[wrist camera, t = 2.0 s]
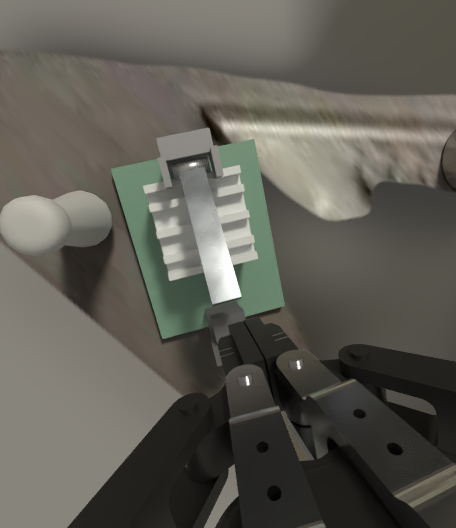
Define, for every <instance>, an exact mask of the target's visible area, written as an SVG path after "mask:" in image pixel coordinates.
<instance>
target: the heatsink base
mask: <svg viewBox="0 0 456 528" xmlns="http://www.w3.org/2000/svg"><path fill="white" fill-rule="evenodd" d="M156 139H157V143H158V147H159V151H160V155H161V157H159V158H157V159H156V160H151V161H146V162H141V163H137V164H132V165H127V166H122V167H117V168H113V169H111V172H112V175H113V178H114V182H115V185H116V188H117V191H118V195H119V198H120V201H121V205H122V208H123V211H124V214H125V218H126V221H127V224H128V227H129V231H130V234H131V237H132V241H133V244H134V247H135V250H136V254H137V257H138V260H139V264H140V267H141V270H142V273H143V277H144V280H145V283H146V287H147V290H148V293H149V296H150V300H151V303H152V306H153V310H154V313H155V316H156V319H157V323H158V326H159V329H160V332H161V336H162V339H165V338H169V337H173V336H176V335H180V334H184V333H187V332H191V331H195V330H198V329H202V328H206V327H208V322H207V316H206V311H205V309H207V308H210V307H214V306H213V305H212V302H211V298H210V294H209V290H208V286H207V282H206V278H205V274H204V270H203V266H202V262H201V258H200V254H199V250H198V246H197V242H196V238H195V234H194V230H193V226H192V223H191V219H190V215H189V211H188V207H187V203H186V199H185V195H184V191H183V187H182V183H181V180H176V181H175V179H174V175H173V172H172V168H171V164H173V163H178V162H182V161H187V160H192V159H197V158H201V157H206V156H207V157H208V159H209V163H210V168H211V173H208V174H207V178H208V181H209V185H210V188H211V192H212V195H213V199H214V202H215V206H216V209H217V213H218V216H219V220H220V223H221V227H222V230H223V234H224V237H225V241H226V244H227V248H228V251H229V255H230V258H231V262H232V265H233V269H234V272H235V276H236V279H237V283H238V286H239V289H240V293H241V296H242V297H241V299H239V300H235V301H237V303H238V304H239V306H240V307H242V308H243V310H244V313H245V317H246V316H250V315H254V314H257V313H261V312H265V311H268V310H272V309H276V308H279V307H283V306H285V304H284V299H283V293H282V288H281V283H280V277H279V272H278V266H277V261H276V256H275V250H274V245H273V239H272V233H271V228H270V223H269V217H268V212H267V206H266V201H265V196H264V190H263V185H262V179H261V174H260V168H259V163H258V157H257V152H256V147H255V141H254V139H252V140H247V141H242V142H237V143H233V144H228V145H223V146H217V145H216V146H213V142H212V138H211V133H210V128H205V129H200V130H195V131H190V132H185V133H180V134H175V135H170V136H165V137H160V138H156ZM232 302H233V301H232ZM228 303H229V302H228ZM224 304H225V303H224ZM220 305H222V304H220ZM216 306H218V305H216Z"/></svg>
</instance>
